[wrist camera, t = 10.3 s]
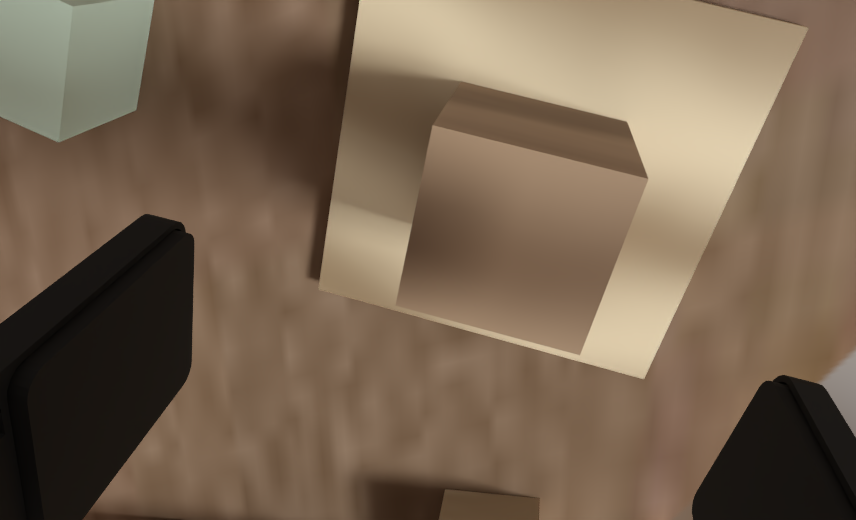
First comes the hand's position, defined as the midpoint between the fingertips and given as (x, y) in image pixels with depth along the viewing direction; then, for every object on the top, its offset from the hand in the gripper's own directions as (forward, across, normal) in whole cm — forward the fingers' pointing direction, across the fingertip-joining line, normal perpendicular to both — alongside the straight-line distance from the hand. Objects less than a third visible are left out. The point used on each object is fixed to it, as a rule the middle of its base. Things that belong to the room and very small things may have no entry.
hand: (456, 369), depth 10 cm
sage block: (+12, +14, 0) cm, 18 cm away
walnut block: (+11, -1, +1) cm, 11 cm away
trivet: (+11, -1, 0) cm, 11 cm away
